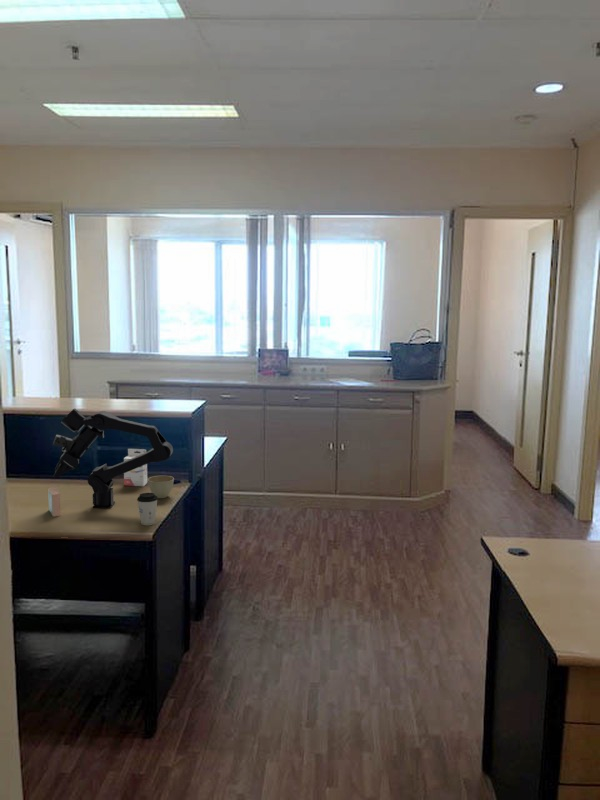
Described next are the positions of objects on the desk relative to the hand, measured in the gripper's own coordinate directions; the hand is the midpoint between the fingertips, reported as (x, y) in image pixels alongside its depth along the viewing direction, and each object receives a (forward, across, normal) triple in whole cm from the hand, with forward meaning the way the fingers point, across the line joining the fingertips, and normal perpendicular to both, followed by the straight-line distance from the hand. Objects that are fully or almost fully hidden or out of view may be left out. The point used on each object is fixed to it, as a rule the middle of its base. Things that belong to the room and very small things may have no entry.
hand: (54, 473), depth 219 cm
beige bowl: (-15, -5, +37) cm, 40 cm away
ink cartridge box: (-10, -24, +31) cm, 41 cm away
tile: (+10, +4, +8) cm, 14 cm away
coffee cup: (-10, +24, +32) cm, 41 cm away
